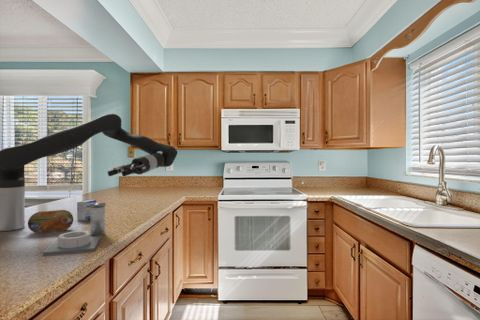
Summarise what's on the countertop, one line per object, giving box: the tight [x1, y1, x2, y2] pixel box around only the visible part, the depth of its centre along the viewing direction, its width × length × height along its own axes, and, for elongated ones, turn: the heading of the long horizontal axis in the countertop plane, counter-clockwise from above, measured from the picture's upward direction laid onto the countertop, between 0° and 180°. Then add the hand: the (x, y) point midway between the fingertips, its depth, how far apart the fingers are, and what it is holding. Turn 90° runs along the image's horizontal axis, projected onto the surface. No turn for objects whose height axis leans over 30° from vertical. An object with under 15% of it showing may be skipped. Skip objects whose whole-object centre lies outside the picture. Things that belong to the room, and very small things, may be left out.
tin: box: [27, 209, 74, 234], centre depth 112 cm, size 15×3×8 cm, turn 118°
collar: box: [42, 230, 102, 257], centre depth 94 cm, size 14×14×4 cm
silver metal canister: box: [89, 201, 106, 237], centre depth 109 cm, size 5×5×12 cm
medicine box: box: [76, 199, 98, 221], centre depth 135 cm, size 8×4×9 cm, turn 168°
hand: (115, 173), depth 115 cm, fingers open, 8 cm apart
